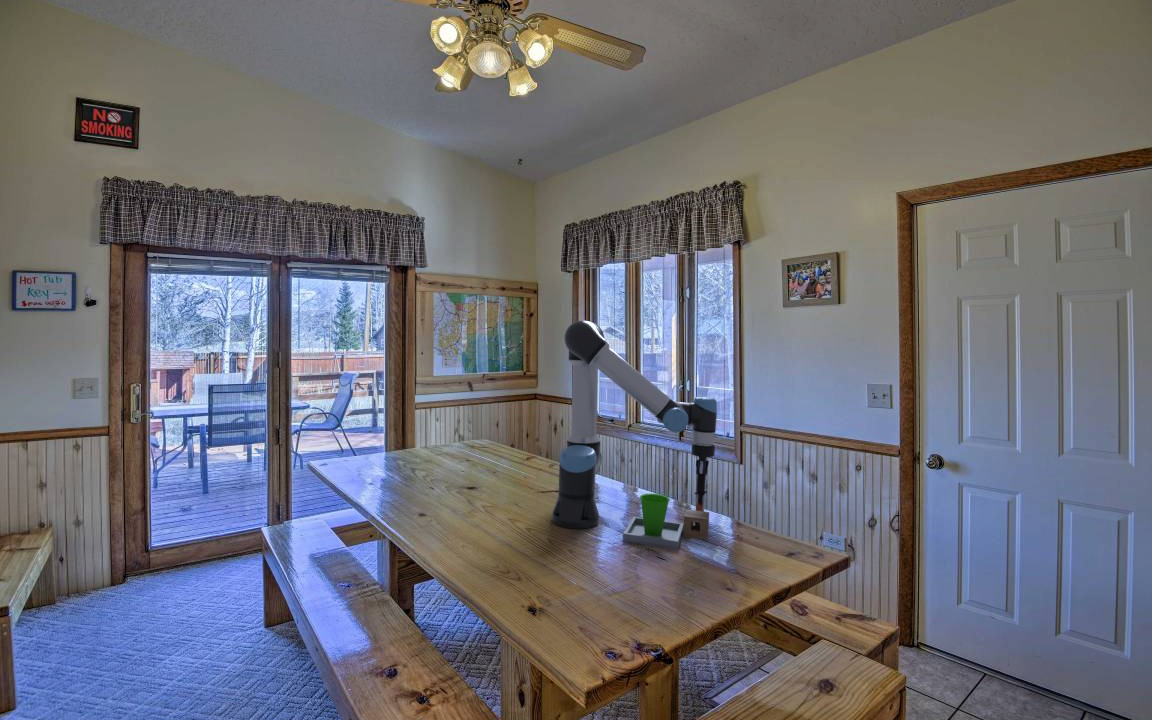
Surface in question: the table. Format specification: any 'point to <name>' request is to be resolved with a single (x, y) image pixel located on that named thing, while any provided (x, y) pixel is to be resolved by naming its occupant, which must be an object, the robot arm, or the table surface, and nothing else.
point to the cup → (654, 513)
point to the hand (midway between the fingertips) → (699, 512)
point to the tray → (666, 539)
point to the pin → (699, 508)
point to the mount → (696, 529)
